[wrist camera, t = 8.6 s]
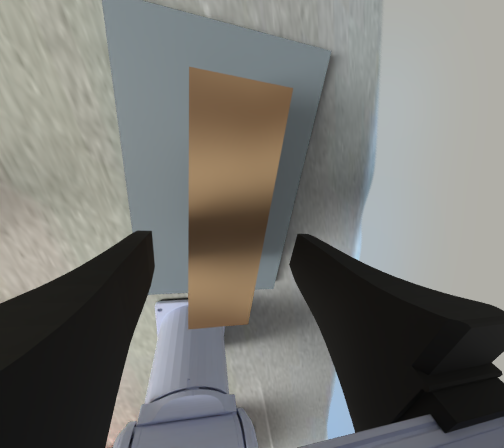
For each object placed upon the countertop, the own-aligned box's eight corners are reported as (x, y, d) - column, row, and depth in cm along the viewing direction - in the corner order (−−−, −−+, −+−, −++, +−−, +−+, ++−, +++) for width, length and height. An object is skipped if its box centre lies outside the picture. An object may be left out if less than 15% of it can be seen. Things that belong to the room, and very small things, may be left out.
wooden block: (237, 275, 19) (247, 324, 14) (191, 277, 18) (188, 329, 13) (262, 97, 13) (293, 87, 8) (194, 84, 12) (188, 66, 7)
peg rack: (270, 281, 25) (280, 305, 22) (143, 286, 22) (133, 316, 18) (322, 55, 15) (354, 39, 12) (109, 0, 12) (74, -42, 9)
